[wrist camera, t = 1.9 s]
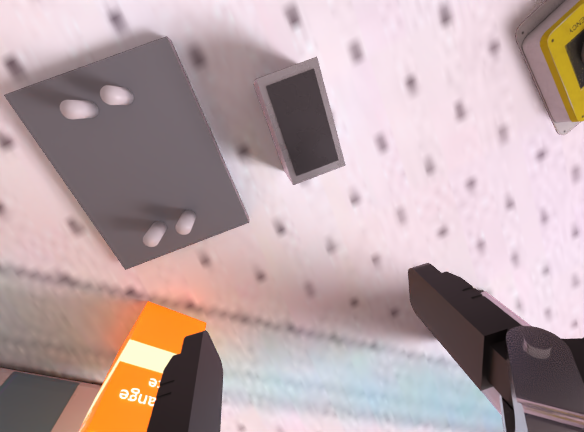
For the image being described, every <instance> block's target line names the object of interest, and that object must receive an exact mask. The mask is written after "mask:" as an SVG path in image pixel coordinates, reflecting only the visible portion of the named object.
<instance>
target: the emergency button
mask: <svg viewBox="0 0 584 432" xmlns="http://www.w3.org/2000/svg"><path fill="white" fill-rule="evenodd" d="M515 36H516V41H517V44H518V46H519V48H520V50H521V53H522V55H523V57H524V59H525V62H526V64H527V66H528V68H529V71H530V73H531V75H532V77H533V80H534V82H535V84H536V86H537V89H538V91H539V93H540V95H541V98H542V100H543V102H544V104H545V107H546V109H547V111H548V113H549V116H550V118H551V120H552V122H553V125H554V127H555V129H556V131H557V133H558V134H559V135H565V134H567V133H568V132H569V131H571V130H572V129H573V128H574V127H575V126H577V125H578V124H579V123H580V122H581V121H584V0H546V1H545V2H544V3H543V4H542V5H541V6H540V7H539V8H538V9H537V10H535V11H534V12H533V13H532V14H531V15H530V16H529V17H528V18H527V19H526V20H525V21H524V22H523V23H522V24H520V26H519V27H518V29H517V31H516V35H515Z"/></svg>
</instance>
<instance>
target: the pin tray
mask: <svg viewBox="0 0 584 432" xmlns="http://www.w3.org/2000/svg"><path fill="white" fill-rule="evenodd" d="M4 96H5V97H6V99H7V100H8V102H9V103H10V104H11V106H12V107H13V109H14V110H15V112H16V113H17V114H18V116H19V117H20V119H21V120H22V122H23V123H24V125H25V126H26V127H27V129H28V130H29V132H30V133H31V135H32V136H33V138H34V139H35V140H36V142H37V143H38V145H39V146H40V148H41V149H42V150H43V152H44V153H45V155H46V156H47V158H48V159H49V161H50V162H51V163H52V165H53V166H54V168H55V169H56V171H57V172H58V173H59V175H60V176H61V178H62V179H63V181H64V182H65V184H66V185H67V186H68V188H69V189H70V191H71V192H72V194H73V195H74V197H75V198H76V199H77V201H78V202H79V204H80V205H81V207H82V208H83V209H84V211H85V212H86V214H87V215H88V217H89V218H90V220H91V221H92V222H93V224H94V225H95V227H96V228H97V230H98V231H99V232H100V234H101V235H102V237H103V238H104V240H105V241H106V243H107V244H108V245H109V247H110V248H111V250H112V251H113V253H114V254H115V256H116V257H117V258H118V260H119V261H120V263H121V264H122V266H123V267H124V268H125V270H126V269H129V268H131V267H134V266H136V265H139V264H142V263H144V262H147V261H149V260H152V259H155V258H157V257H160V256H163V255H165V254H168V253H170V252H173V251H176V250H178V249H181V248H184V247H186V246H189V245H191V244H194V243H197V242H199V241H202V240H204V239H207V238H210V237H212V236H215V235H218V234H220V233H223V232H225V231H228V230H231V229H233V228H236V227H238V226H241V225H244V224H246V223H249V217H248V214H247V212H246V210H245V208H244V205H243V203H242V201H241V198H240V196H239V194H238V192H237V189H236V187H235V185H234V182H233V180H232V178H231V176H230V173H229V171H228V169H227V167H226V164H225V162H224V160H223V157H222V155H221V153H220V151H219V148H218V146H217V144H216V142H215V139H214V137H213V135H212V132H211V130H210V128H209V126H208V123H207V121H206V119H205V116H204V114H203V112H202V110H201V107H200V105H199V103H198V101H197V98H196V96H195V94H194V91H193V89H192V87H191V85H190V82H189V80H188V78H187V76H186V73H185V71H184V69H183V66H182V64H181V62H180V60H179V57H178V55H177V53H176V50H175V48H174V46H173V44H172V41H171V40H170V39H169V38H168V37H164V38H161V39H158V40H156V41H153V42H150V43H147V44H144V45H142V46H139V47H136V48H133V49H130V50H128V51H125V52H122V53H119V54H117V55H114V56H111V57H108V58H105V59H103V60H100V61H97V62H94V63H92V64H89V65H86V66H83V67H80V68H78V69H75V70H72V71H69V72H67V73H64V74H61V75H58V76H55V77H53V78H50V79H47V80H44V81H41V82H39V83H36V84H33V85H30V86H28V87H25V88H22V89H19V90H16V91H14V92H11V93H8V94H5V95H4Z"/></svg>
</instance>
